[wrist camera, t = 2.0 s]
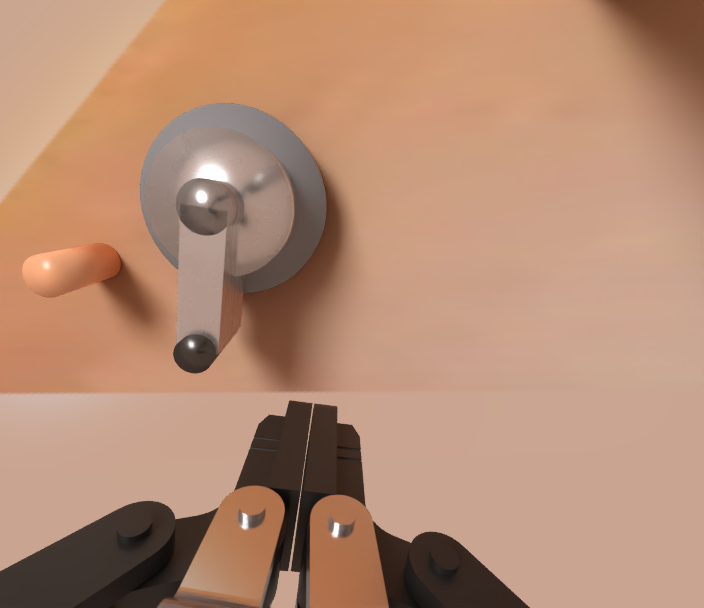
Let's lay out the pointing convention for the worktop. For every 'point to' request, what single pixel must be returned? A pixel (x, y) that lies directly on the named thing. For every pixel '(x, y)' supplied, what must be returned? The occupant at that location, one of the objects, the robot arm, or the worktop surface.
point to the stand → (103, 261)
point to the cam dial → (216, 229)
